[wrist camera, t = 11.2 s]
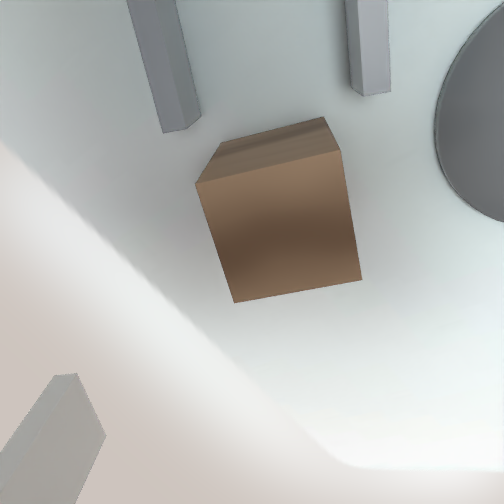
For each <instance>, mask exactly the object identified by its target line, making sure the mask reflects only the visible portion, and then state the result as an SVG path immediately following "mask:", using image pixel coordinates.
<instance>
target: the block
mask: <svg viewBox="0 0 504 504" xmlns="http://www.w3.org/2000/svg"><path fill="white" fill-rule="evenodd" d="M195 186H196V189H197V192H198V195H199V198H200V201H201V204H202V207H203V210H204V213H205V216H206V219H207V222H208V225H209V228H210V231H211V234H212V237H213V240H214V243H215V247H216V250H217V253H218V256H219V259H220V262H221V265H222V268H223V271H224V274H225V277H226V280H227V283H228V286H229V289H230V292H231V295H232V298H233V301H234V303H238V302H244V301H249V300H255V299H260V298H266V297H271V296H277V295H282V294H288V293H293V292H299V291H304V290H310V289H315V288H321V287H326V286H332V285H337V284H343V283H348V282H354V281H359V280H362V276H361V270H360V264H359V258H358V252H357V246H356V240H355V234H354V228H353V222H352V217H351V211H350V205H349V199H348V193H347V187H346V181H345V175H344V169H343V163H342V157H341V152H340V148H339V146H338V144H337V142H336V140H335V138H334V136H333V134H332V132H331V130H330V128H329V126H328V124H327V122H326V120H325V118H324V117H321V118H317V119H313V120H309V121H305V122H301V123H297V124H293V125H289V126H285V127H281V128H277V129H273V130H269V131H265V132H261V133H258V134H254V135H250V136H246V137H242V138H238V139H234V140H230V141H226V142H222V143H221V144H220V146H219V147H218V149H217V150H216V152H215V153H214V155H213V157H212V158H211V160H210V161H209V163H208V165H207V166H206V168H205V169H204V171H203V172H202V174H201V176H200V177H199V179H198V180H197V182H196V183H195Z"/></svg>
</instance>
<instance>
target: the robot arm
mask: <svg viewBox="0 0 504 504" xmlns="http://www.w3.org/2000/svg"><path fill="white" fill-rule="evenodd" d="M105 438H106V434H105V432H104V430H103V428H102V425H101V423H100V421H99V419H98V417H97V415H96V413H95V411H94V408H93V406H92V404H91V402H90V400H89V398H88V395H87V393H86V391H85V389H84V387H83V385H82V383H81V381H80V378H79V376H78V374H77V373H74V374H65V375H55V376H54V377H53V378H52V380H51V381H50V383H49V384H48V385H47V387H46V388H45V390H44V391H43V393H42V394H41V395H40V397H39V398H38V400H37V401H36V403H35V404H34V405H33V407H32V408H31V410H30V411H29V412H28V414H27V415H26V417H25V418H24V420H23V421H22V422H21V424H20V426H19V427H18V428H17V430H16V431H15V432H14V434H13V435H12V437H11V438H10V439H9V441H8V442H7V444H6V445H5V447H4V448H3V450H2V451H1V452H0V504H75V503H76V500H77V498H78V496H79V494H80V492H81V490H82V488H83V485H84V483H85V481H86V479H87V477H88V474H89V472H90V470H91V468H92V466H93V464H94V461H95V459H96V457H97V455H98V453H99V451H100V448H101V446H102V444H103V442H104V440H105Z"/></svg>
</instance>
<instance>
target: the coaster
mask: <svg viewBox="0 0 504 504" xmlns="http://www.w3.org/2000/svg"><path fill="white" fill-rule="evenodd" d="M435 145H436V150H437V155H438V159H439V162H440V165H441V167H442V170H443V172H444V174H445V176H446V178H447V179H448V181H449V183H450V184H451V186H452V187H453V188H454V189H455V191H456V192H457V193H458V194H459V195H460V196H461V197H462V198H463V199H464V200H465V201H467V202H468V203H469V204H470V205H471V206H472V207H473V208H475V209H477V210H478V211H480V212H481V213H483V214H484V215H486V216H489V217H491V218H493V219H495V220H498V221H501V222H504V3H502V4H501V5H500V6H499V7H498V8H497V9H496V10H494V11H493V12H492V13H491V14H490V15H489V16H488V17H487V18H486V19H485V20H484V21H483V22H482V23H481V24H480V25H479V27H478V28H477V29H476V30H475V31H474V32H473V34H472V35H471V36H470V38H469V39H468V40H467V42H466V43H465V44H464V46H463V47H462V49H461V50H460V52H459V54H458V55H457V57H456V59H455V60H454V62H453V64H452V66H451V68H450V70H449V72H448V74H447V76H446V79H445V81H444V84H443V87H442V90H441V93H440V96H439V100H438V105H437V110H436V116H435Z"/></svg>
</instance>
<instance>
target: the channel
mask: <svg viewBox="0 0 504 504" xmlns="http://www.w3.org/2000/svg"><path fill="white" fill-rule="evenodd" d="M127 4H128V8H129V11H130V15H131V19H132V22H133V26H134V30H135V33H136V37H137V41H138V44H139V48H140V52H141V55H142V59H143V63H144V66H145V70H146V74H147V77H148V81H149V84H150V88H151V92H152V95H153V99H154V103H155V106H156V110H157V114H158V117H159V121H160V125H161V128H162V132H163V133H167V132H173V131H178V130H184V129H187V128H188V127H189V126H190V125H192V124H193V123H194V122H195V121H196V120H197V119H198V118H200V117H201V112H200V108H199V103H198V99H197V95H196V90H195V86H194V82H193V77H192V73H191V69H190V64H189V60H188V56H187V51H186V47H185V43H184V38H183V34H182V29H181V25H180V21H179V16H178V12H177V8H176V3H175V0H127ZM345 11H346V24H347V37H348V50H349V63H350V76H351V88H352V89H354V90H355V91H357V92H358V93H359V94H361V95H362V96H369V95H375V94H380V93H386V92H391V79H390V53H389V27H388V1H387V0H345Z"/></svg>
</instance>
